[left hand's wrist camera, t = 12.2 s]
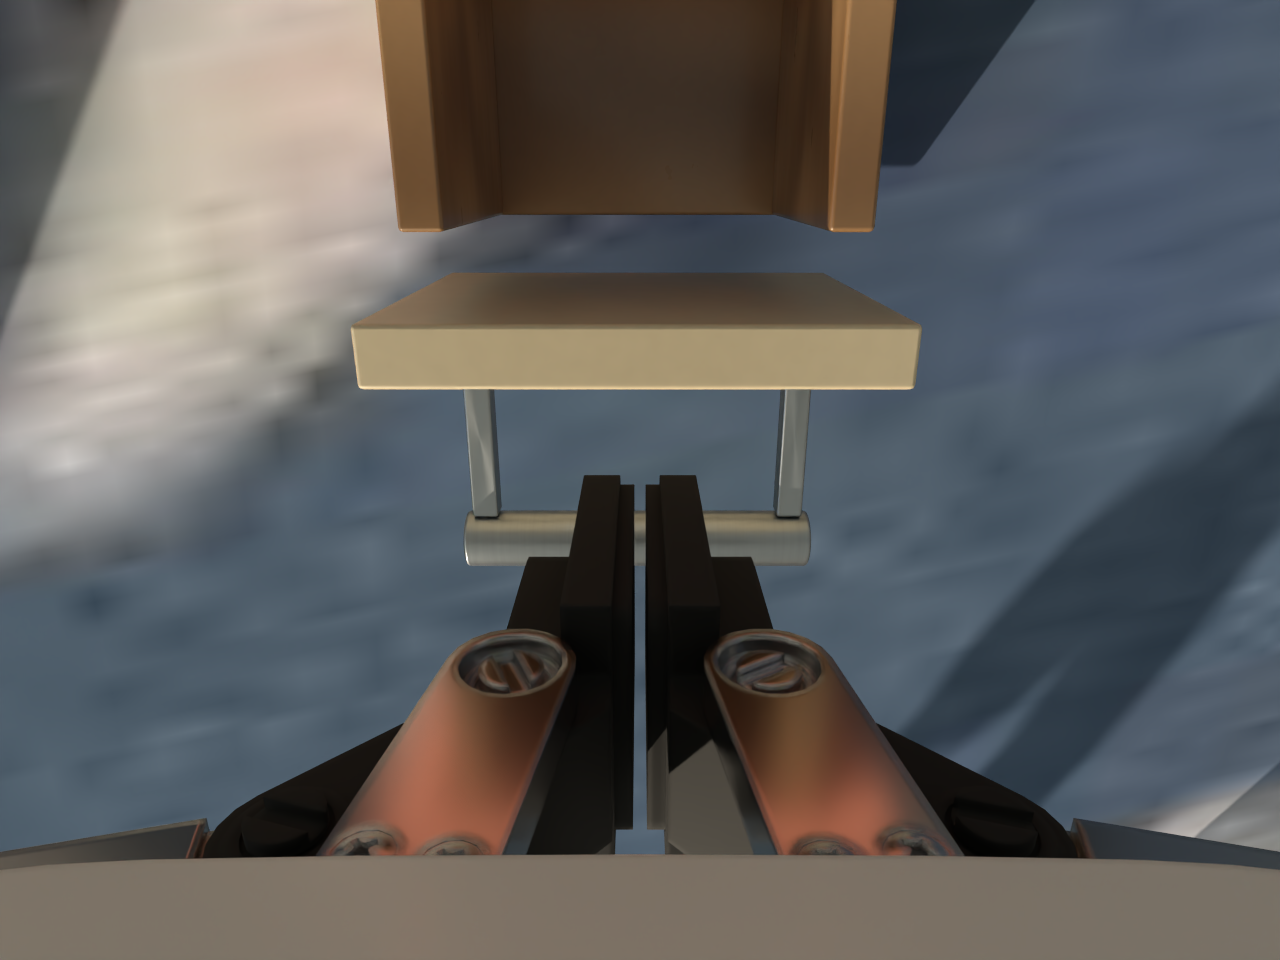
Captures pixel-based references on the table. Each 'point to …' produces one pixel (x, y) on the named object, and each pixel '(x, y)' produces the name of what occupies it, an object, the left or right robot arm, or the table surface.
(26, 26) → the table surface
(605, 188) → the drawer
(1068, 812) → the table surface
